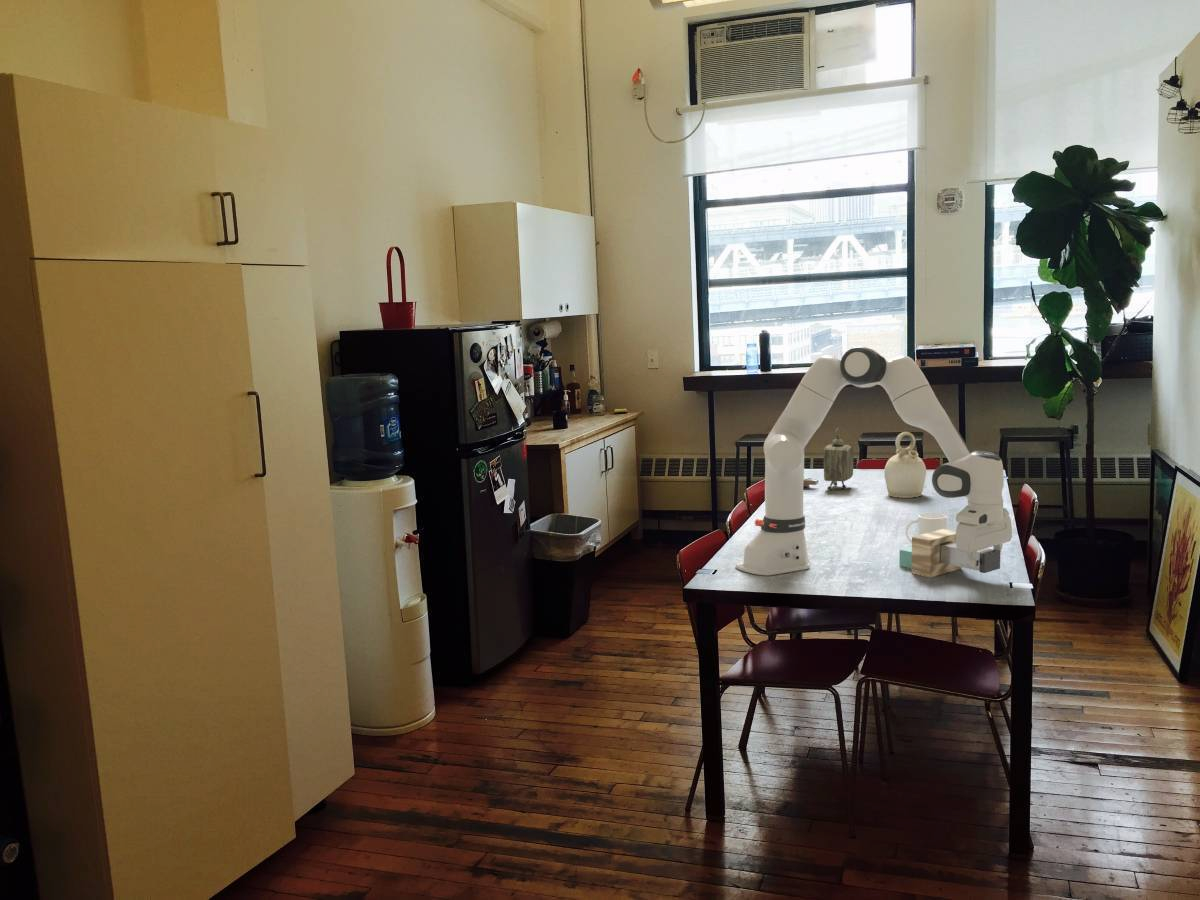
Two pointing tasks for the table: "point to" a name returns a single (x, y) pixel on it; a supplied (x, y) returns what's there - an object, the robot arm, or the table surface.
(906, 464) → the jug
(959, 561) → the shaft
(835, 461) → the tabletop clock
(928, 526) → the mug
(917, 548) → the bearing block
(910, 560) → the block
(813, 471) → the table surface
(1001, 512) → the robot arm
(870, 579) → the table surface
